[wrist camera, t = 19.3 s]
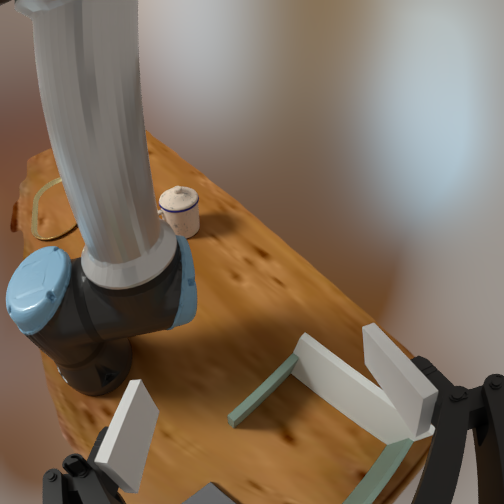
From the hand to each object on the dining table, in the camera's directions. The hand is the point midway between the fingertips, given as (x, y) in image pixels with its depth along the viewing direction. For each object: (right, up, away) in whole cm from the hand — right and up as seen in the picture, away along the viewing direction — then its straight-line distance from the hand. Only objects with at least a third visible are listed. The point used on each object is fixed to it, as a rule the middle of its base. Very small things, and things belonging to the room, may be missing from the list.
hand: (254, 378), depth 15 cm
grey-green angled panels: (+10, -22, +22) cm, 33 cm away
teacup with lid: (-18, +12, +53) cm, 57 cm away
